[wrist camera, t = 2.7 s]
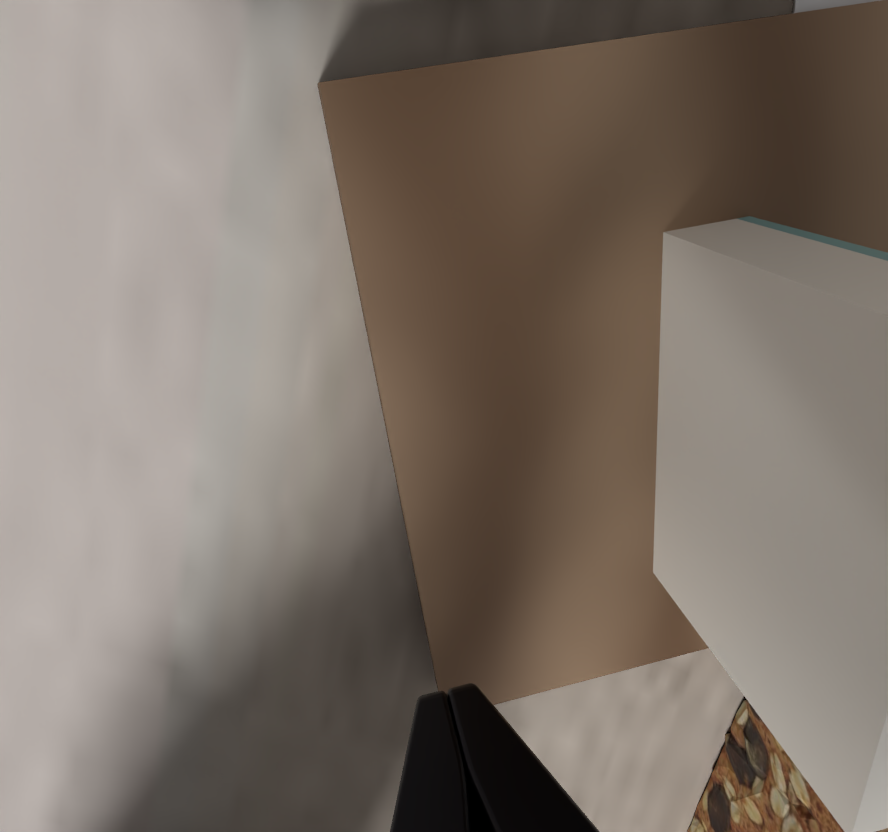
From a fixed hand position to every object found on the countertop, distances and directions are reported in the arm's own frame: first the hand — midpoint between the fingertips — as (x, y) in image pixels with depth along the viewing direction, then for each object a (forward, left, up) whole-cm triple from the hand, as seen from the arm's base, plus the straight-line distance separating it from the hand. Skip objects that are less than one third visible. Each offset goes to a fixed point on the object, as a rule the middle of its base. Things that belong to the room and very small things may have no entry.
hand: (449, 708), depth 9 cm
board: (+8, 0, -7) cm, 11 cm away
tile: (+7, 0, -6) cm, 9 cm away
